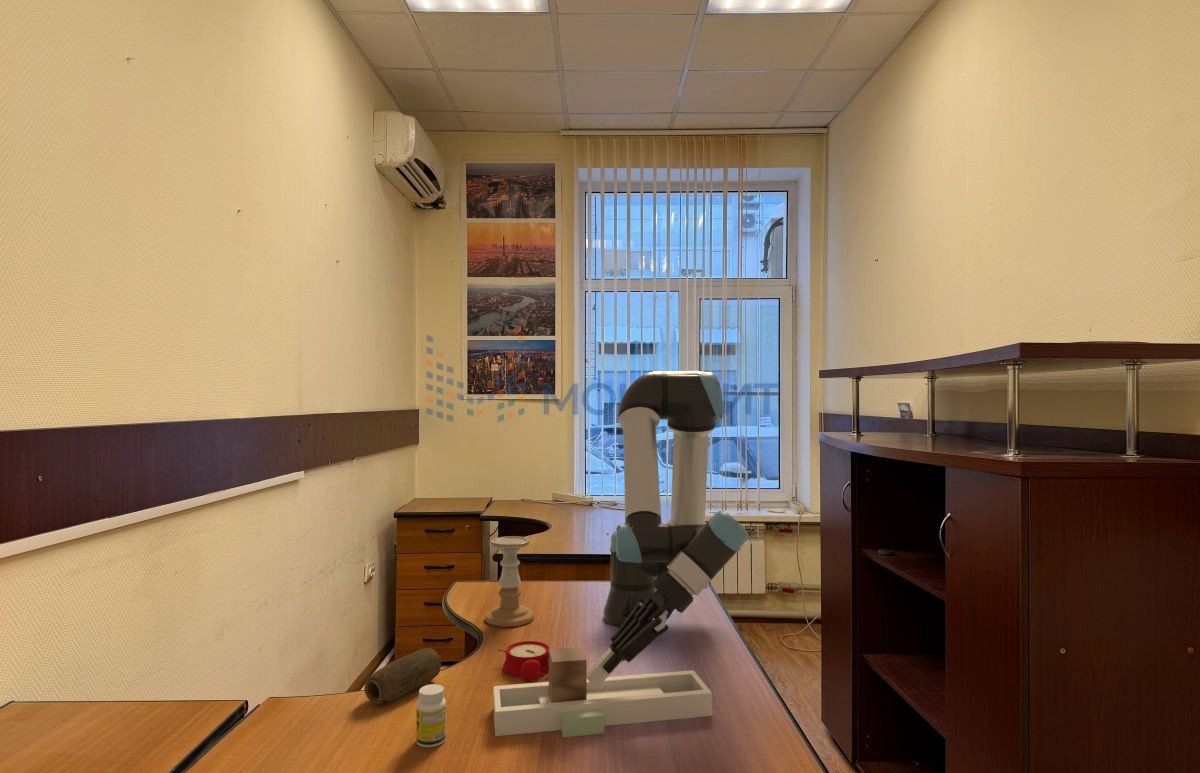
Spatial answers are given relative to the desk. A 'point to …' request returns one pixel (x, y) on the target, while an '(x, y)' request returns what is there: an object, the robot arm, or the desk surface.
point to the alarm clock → (527, 660)
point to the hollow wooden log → (403, 676)
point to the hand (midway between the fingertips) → (591, 681)
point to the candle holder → (509, 585)
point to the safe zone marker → (582, 722)
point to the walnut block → (567, 675)
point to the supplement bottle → (431, 716)
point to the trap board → (603, 702)
